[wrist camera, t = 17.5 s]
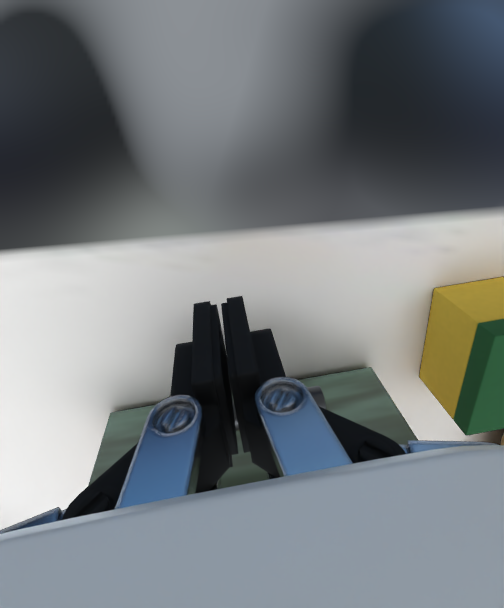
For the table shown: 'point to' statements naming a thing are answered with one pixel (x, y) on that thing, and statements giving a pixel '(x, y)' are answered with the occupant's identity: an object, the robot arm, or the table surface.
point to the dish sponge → (467, 353)
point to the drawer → (324, 389)
